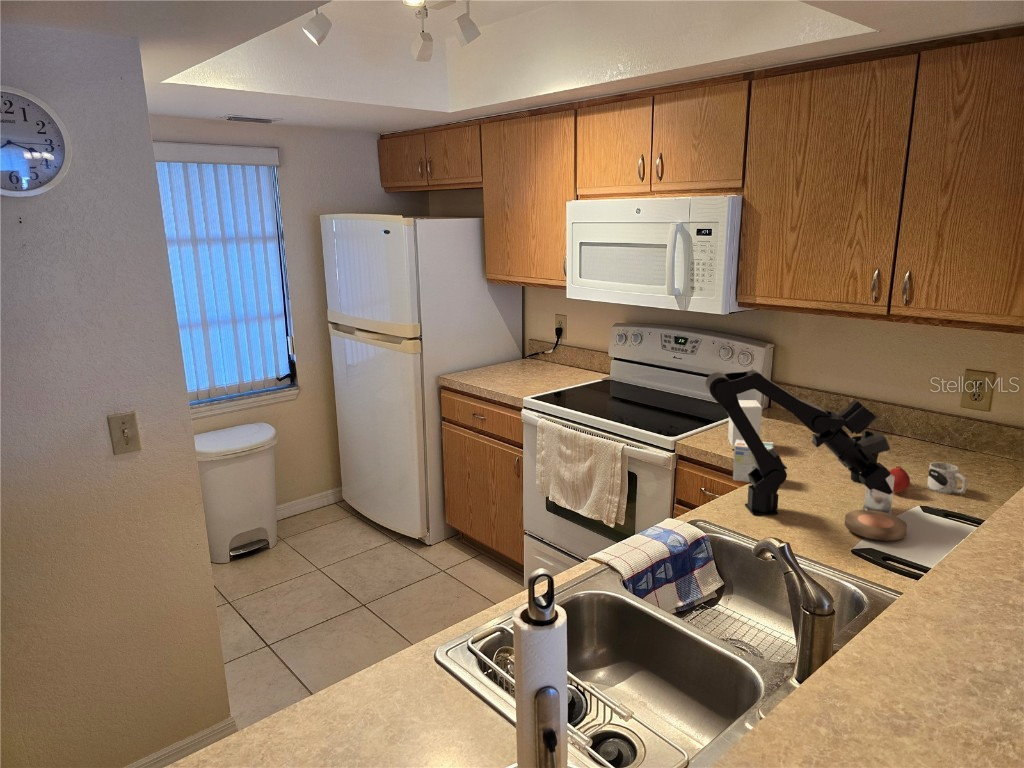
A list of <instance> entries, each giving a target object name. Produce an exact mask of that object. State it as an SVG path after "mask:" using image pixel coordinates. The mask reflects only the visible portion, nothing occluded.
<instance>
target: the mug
mask: <svg viewBox="0 0 1024 768" xmlns="http://www.w3.org/2000/svg"><path fill="white" fill-rule="evenodd" d="M959 469H960V468H959V467H958V466H957V465H955V464H952V463H947V462H939V461H938V462H937V461H935V462H930V463H929V468H928V475H927V486H926V488H927V489H928V490H929V491H931V492H934V493H938V494H942V495H943V494H944V495H952V494H955V493H958V494H965V493H966V491H967V488H968V478H967V477H966V476H964V475H963V474H961V473H959ZM958 479H959V480H961V482H962V485H961V488H958V487H957V484H958Z"/></svg>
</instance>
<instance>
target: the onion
mask: <svg viewBox="0 0 1024 768" xmlns="http://www.w3.org/2000/svg"><path fill="white" fill-rule="evenodd" d="M889 471H890V472H891V475H893V476H894V477H895V479H894V488H893V494H899V493H902V492H904V491H905V490H907V489H908V488H909V486H910V483H911V479H910V475H909V474H908V473H907V472H906V470H905V469H903V467H902V466H901V465H900V464H898V465H896V466H895V467H894V468H892V469H890V470H889Z"/></svg>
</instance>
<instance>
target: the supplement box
mask: <svg viewBox="0 0 1024 768" xmlns="http://www.w3.org/2000/svg"><path fill="white" fill-rule="evenodd" d="M738 401H739V404H740V406H741V408H742V410H743V411H744V413H745V414H746V416H747V418H748V419H749V421H750V423H751V424H752V426H753V428H754V429H755V431H756V433H757V434H758V436H759V437H760V438H761V428H762V413H763V406H761V404H760V403H759V402H758V400H755V399H753V400H752V399H751V400H749V399H747V400H745V399H738ZM727 430H728V431H727V440H728V439H729V442H730V444H731V445H732V446H735V442H736V439H737V440H743V438H742V436H741V435H740V433H739V432H738V430H737V428H736V427H735V425H734V423H733V422H732V420H731V418H730V417H729V416H728V429H727Z"/></svg>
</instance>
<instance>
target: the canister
mask: <svg viewBox="0 0 1024 768" xmlns="http://www.w3.org/2000/svg"><path fill="white" fill-rule="evenodd" d="M894 479H895V477H894V476H893V475H891V474H890V476H888V477H887V478H886V481H887V483H888V484H889V486H890V488H891V489H892V491H893V488H894ZM864 495H865V496H864V502H863V507H862V510H874V511H880V512H885V513H888V514H891V515H893V510H892V505H893V495H894V492H892V493H891V494H890V495H889V494H886V493H884V492H881V491H878V490H876V489H871V490H869V489H868V488H867V487H866V486H865V494H864Z"/></svg>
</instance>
